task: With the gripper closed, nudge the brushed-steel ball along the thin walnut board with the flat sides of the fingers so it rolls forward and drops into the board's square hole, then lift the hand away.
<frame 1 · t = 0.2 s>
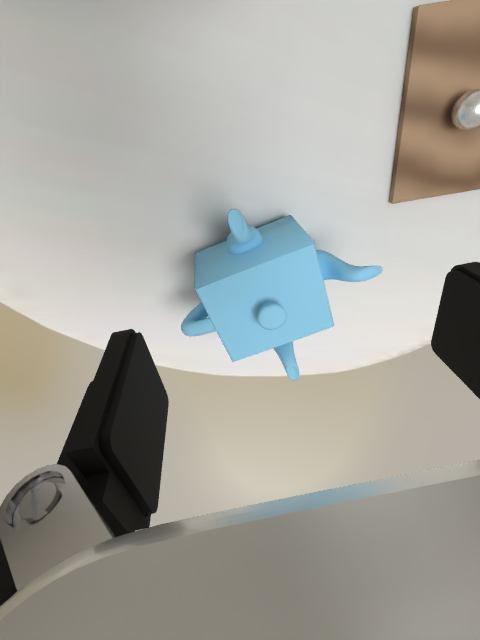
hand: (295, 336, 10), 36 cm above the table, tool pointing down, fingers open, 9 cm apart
teakettle: (260, 262, 48), on the table
steel ball: (472, 109, 37), point 3 cm above the table, touching walnut board
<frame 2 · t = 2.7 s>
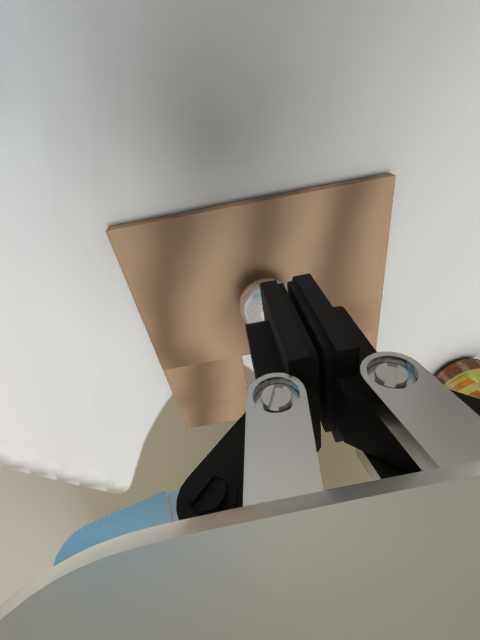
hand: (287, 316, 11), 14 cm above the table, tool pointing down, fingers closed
walnut board: (265, 324, 29), on the table
sauce bottle: (453, 376, 35), on the table
steel ball: (266, 304, 24), point 3 cm above the table, touching walnut board
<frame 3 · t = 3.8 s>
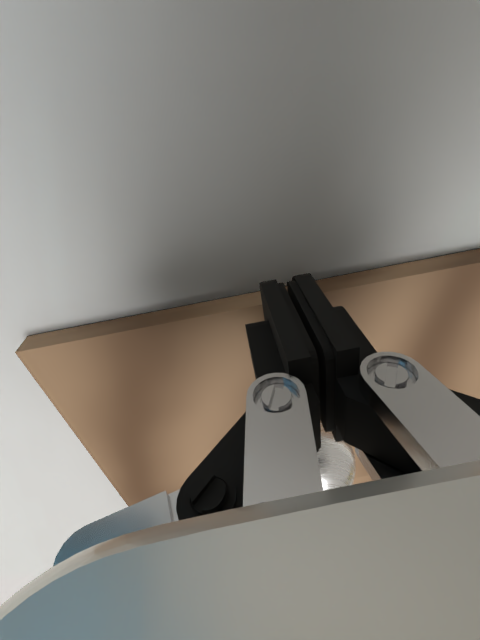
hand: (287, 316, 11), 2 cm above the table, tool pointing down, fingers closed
walnut board: (295, 451, 19), on the table
steel ball: (306, 459, 14), point 3 cm above the table, touching walnut board
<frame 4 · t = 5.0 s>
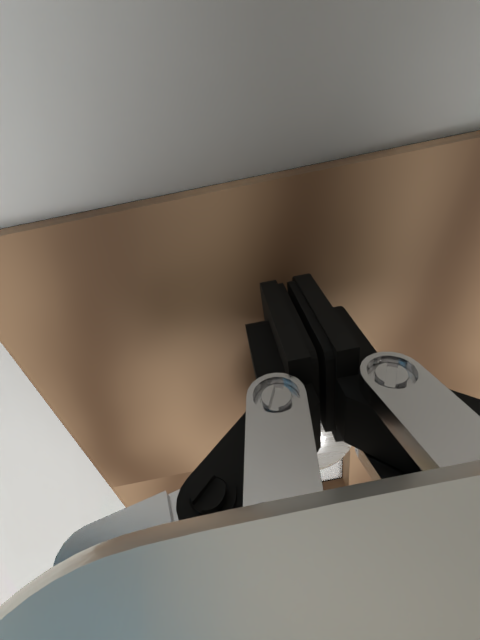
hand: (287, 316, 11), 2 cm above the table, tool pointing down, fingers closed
walnut board: (290, 406, 16), on the table
steel ball: (302, 412, 12), point 3 cm above the table, tilted 22°, touching gripper, walnut board
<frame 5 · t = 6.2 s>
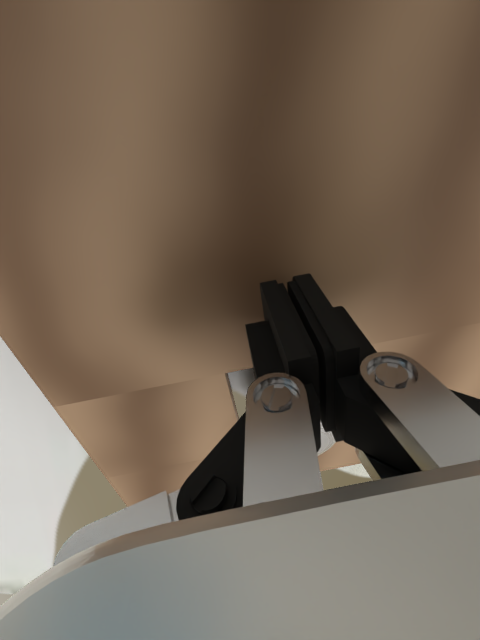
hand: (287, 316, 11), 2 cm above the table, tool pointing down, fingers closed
walnut board: (279, 302, 13), on the table
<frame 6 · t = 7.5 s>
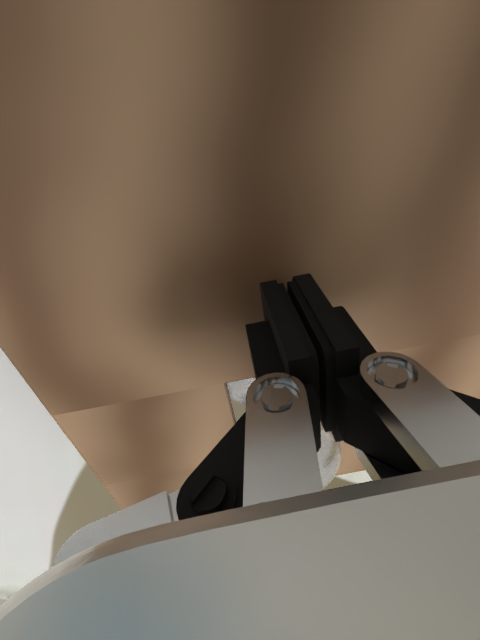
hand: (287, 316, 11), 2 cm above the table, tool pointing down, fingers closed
walnut board: (278, 313, 13), on the table
steel ball: (295, 446, 14), point 2 cm above the table, tilted 123°
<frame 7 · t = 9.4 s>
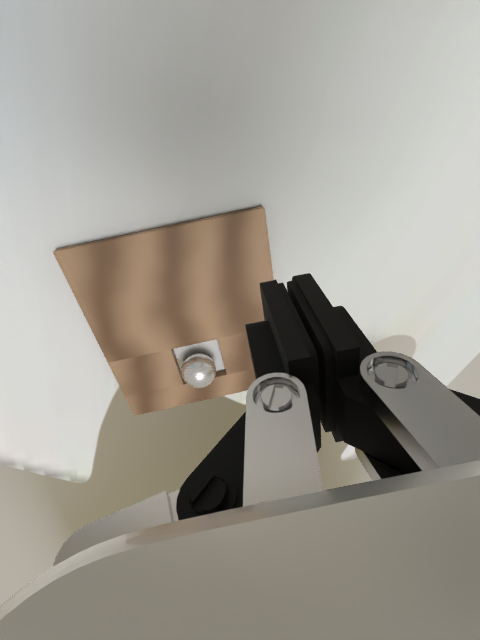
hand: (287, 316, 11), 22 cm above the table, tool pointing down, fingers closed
walnut board: (189, 323, 36), on the table
steel ball: (198, 370, 37), point 2 cm above the table, tilted 140°
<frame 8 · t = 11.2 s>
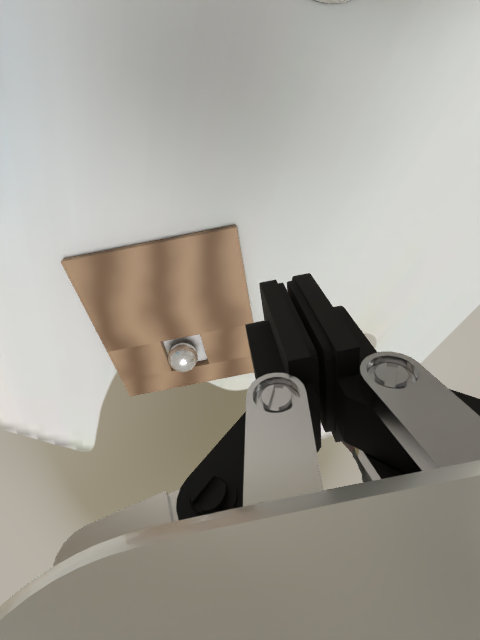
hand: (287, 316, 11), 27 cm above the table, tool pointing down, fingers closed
walnut board: (176, 320, 42), on the table
steel ball: (183, 357, 43), point 2 cm above the table, tilted 156°
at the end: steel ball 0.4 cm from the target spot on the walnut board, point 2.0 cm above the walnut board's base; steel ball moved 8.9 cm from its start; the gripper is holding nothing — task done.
